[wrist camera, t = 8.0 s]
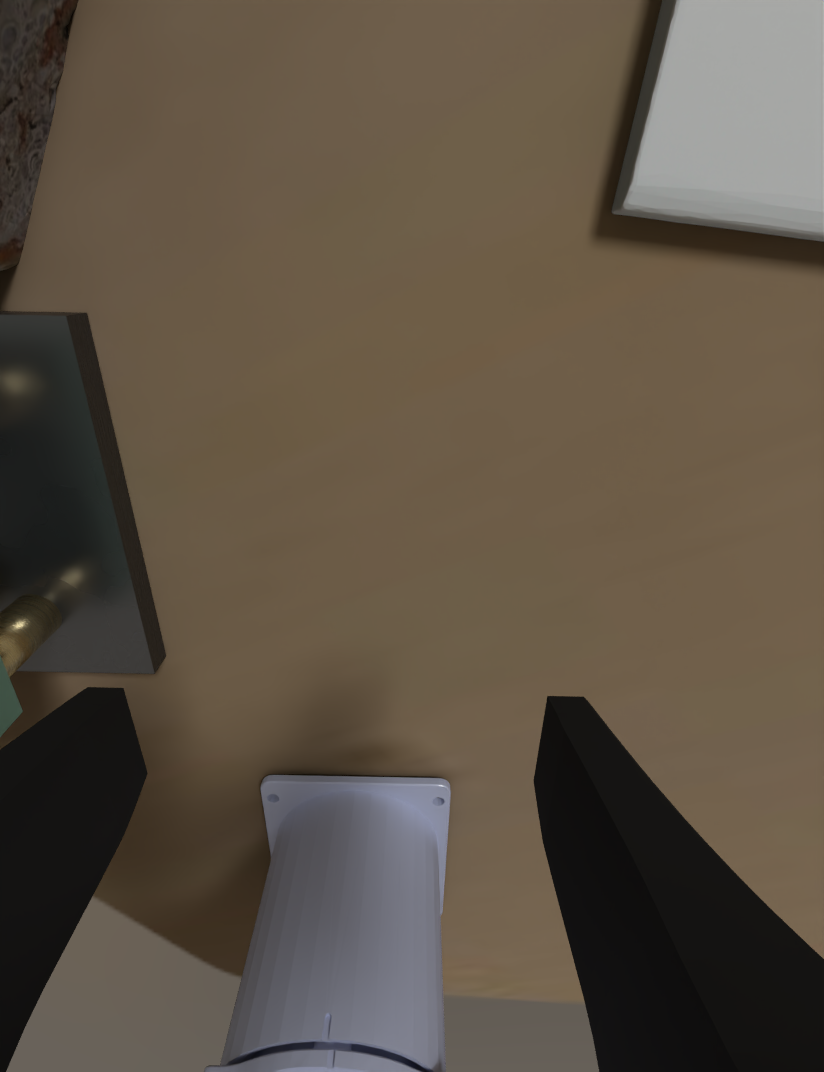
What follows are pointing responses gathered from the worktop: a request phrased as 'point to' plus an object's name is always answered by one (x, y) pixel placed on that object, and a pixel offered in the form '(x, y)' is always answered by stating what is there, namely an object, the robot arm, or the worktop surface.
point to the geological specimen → (26, 107)
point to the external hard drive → (731, 119)
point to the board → (7, 701)
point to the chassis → (66, 511)
